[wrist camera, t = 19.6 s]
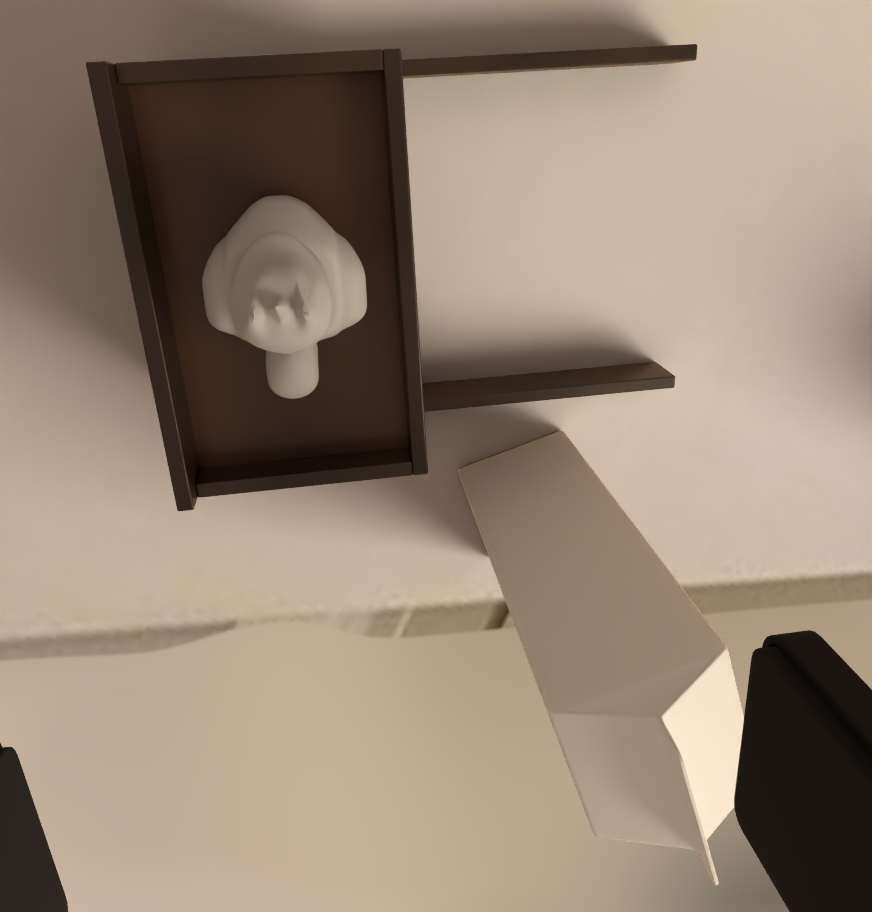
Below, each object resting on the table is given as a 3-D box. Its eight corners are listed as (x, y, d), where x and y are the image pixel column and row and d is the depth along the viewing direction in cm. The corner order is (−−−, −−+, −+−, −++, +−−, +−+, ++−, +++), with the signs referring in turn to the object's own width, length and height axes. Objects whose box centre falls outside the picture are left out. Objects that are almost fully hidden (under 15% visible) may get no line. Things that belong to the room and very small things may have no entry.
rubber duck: (357, 187, 29) (369, 212, 21) (368, 365, 31) (382, 443, 24) (201, 192, 28) (159, 221, 21) (225, 374, 31) (195, 457, 23)
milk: (561, 428, 42) (786, 712, 22) (590, 522, 45) (816, 855, 25) (453, 469, 42) (578, 789, 22) (488, 561, 45) (628, 925, 25)
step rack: (673, 48, 36) (803, 25, 26) (655, 372, 42) (755, 450, 32) (152, 76, 33) (85, 62, 24) (212, 414, 39) (177, 511, 30)
